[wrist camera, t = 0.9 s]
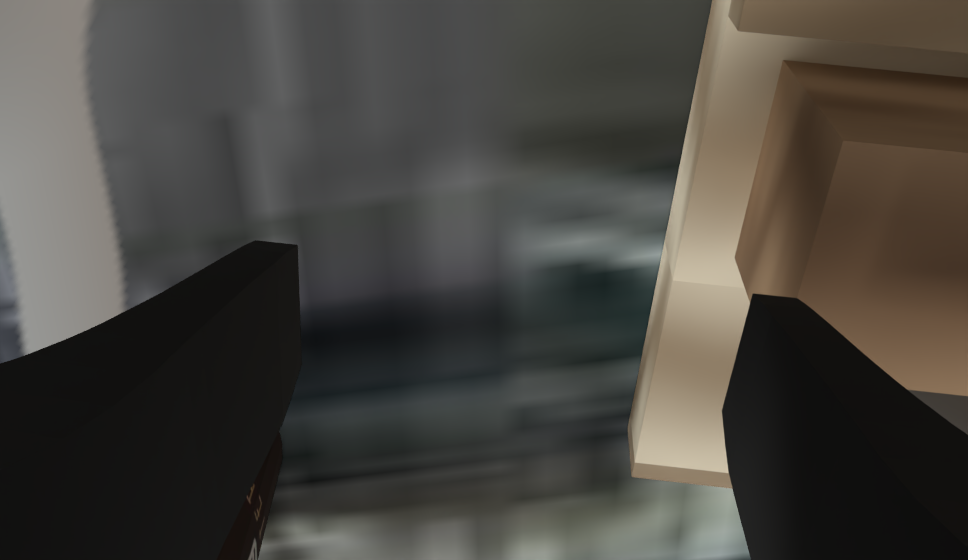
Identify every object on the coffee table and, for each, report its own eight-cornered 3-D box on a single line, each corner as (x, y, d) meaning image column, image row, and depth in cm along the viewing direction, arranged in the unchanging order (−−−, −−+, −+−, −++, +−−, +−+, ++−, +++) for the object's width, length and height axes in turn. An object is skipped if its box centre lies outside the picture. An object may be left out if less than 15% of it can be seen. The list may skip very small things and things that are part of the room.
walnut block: (937, 278, 20) (1027, 402, 16) (734, 257, 20) (774, 375, 16) (1012, 82, 17) (1138, 169, 14) (782, 59, 18) (843, 140, 14)
